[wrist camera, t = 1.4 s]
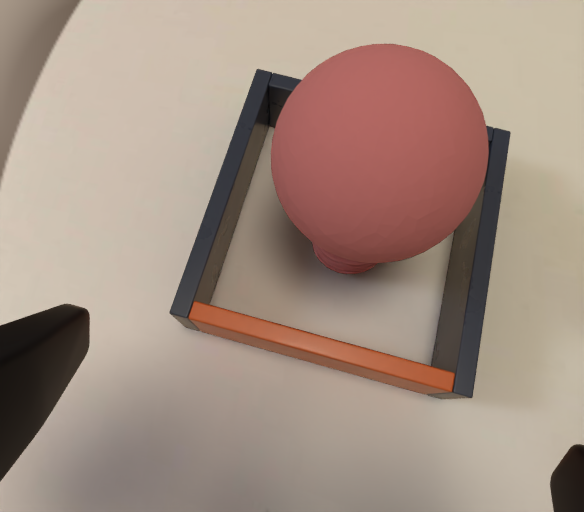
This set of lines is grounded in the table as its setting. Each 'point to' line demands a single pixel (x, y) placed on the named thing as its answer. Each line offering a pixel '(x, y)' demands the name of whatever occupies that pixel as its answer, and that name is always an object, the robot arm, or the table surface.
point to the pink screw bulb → (378, 155)
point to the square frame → (322, 350)
